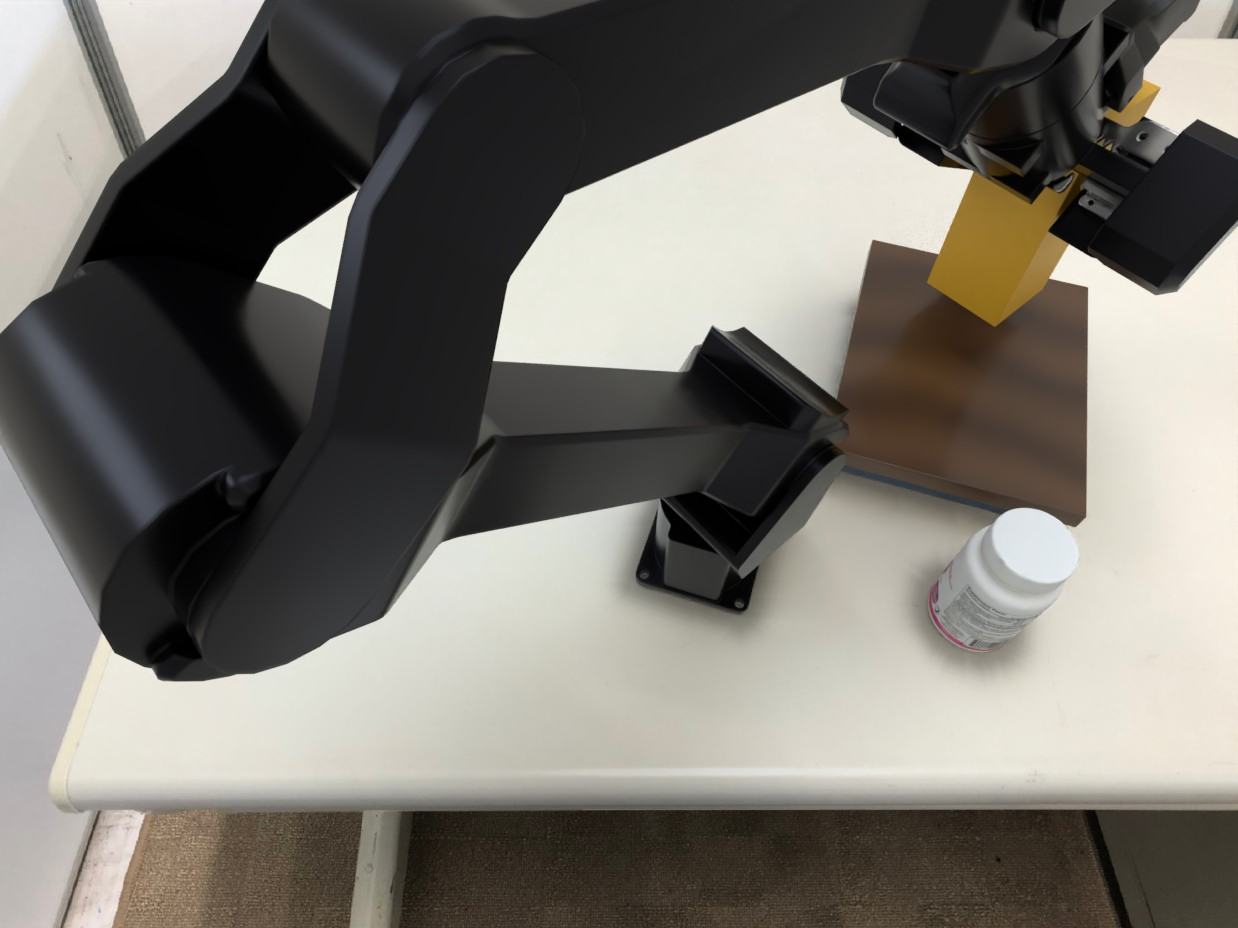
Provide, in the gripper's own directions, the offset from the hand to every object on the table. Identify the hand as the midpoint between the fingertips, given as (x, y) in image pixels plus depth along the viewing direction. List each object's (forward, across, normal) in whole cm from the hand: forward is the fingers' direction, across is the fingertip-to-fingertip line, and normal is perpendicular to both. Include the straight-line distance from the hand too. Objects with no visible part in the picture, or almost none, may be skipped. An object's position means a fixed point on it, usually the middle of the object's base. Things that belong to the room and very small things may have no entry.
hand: (1044, 185), depth 44 cm
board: (+5, -3, +13) cm, 14 cm away
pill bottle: (-2, -12, +21) cm, 24 cm away
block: (+4, 0, +6) cm, 7 cm away
